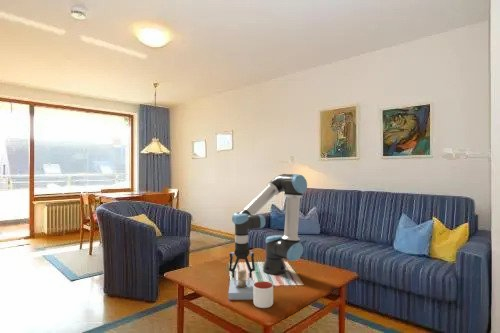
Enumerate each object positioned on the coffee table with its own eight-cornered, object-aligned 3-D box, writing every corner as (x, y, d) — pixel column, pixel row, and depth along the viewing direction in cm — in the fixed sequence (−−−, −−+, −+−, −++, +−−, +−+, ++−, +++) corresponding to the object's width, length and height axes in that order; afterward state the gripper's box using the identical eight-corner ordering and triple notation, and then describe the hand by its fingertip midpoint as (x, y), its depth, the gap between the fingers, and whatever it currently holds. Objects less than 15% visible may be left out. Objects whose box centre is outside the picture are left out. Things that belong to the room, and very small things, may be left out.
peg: (246, 290, 174) (245, 269, 174) (246, 294, 170) (245, 272, 169) (238, 290, 174) (238, 269, 174) (237, 294, 169) (237, 272, 169)
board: (254, 286, 181) (254, 280, 181) (255, 299, 163) (255, 292, 163) (230, 286, 181) (230, 280, 181) (228, 299, 163) (228, 293, 163)
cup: (252, 300, 161) (252, 281, 161) (271, 299, 162) (271, 280, 162) (254, 309, 151) (254, 289, 151) (274, 308, 152) (274, 288, 152)
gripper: (259, 240, 175) (259, 280, 175) (224, 240, 175) (224, 281, 175) (260, 243, 168) (260, 285, 168) (223, 243, 168) (223, 286, 168)
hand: (242, 283), depth 172 cm, fingers open, 7 cm apart
